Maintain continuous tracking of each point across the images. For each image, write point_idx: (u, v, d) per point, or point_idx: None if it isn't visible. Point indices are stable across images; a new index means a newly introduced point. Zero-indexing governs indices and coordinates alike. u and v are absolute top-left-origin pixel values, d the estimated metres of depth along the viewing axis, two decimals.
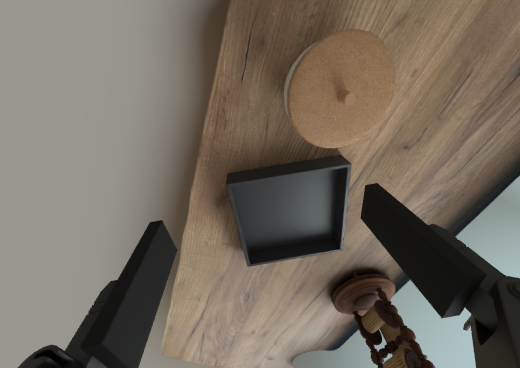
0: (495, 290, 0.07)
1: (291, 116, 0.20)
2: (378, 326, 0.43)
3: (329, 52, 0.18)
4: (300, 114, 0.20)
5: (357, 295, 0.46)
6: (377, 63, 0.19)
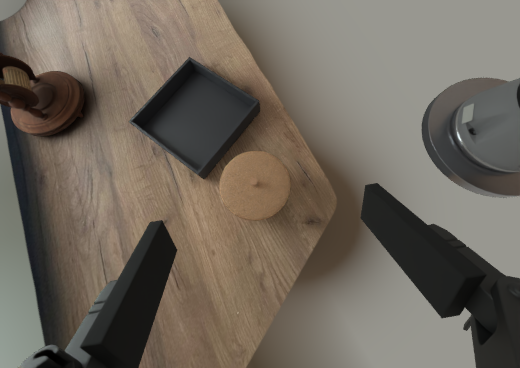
0: (495, 290, 0.07)
1: None
2: (8, 78, 0.36)
3: (281, 191, 0.30)
4: (266, 158, 0.31)
5: (59, 97, 0.41)
6: (255, 210, 0.29)
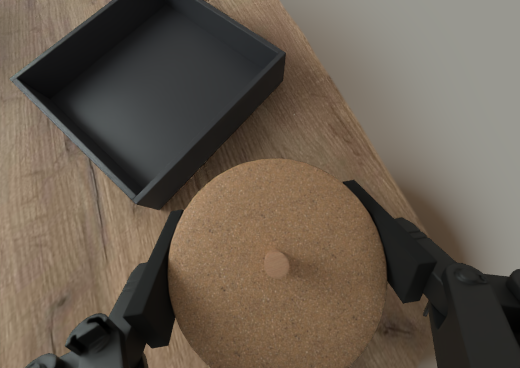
0: (445, 277, 0.08)
1: (319, 169, 0.11)
2: None
3: (361, 293, 0.09)
4: (311, 183, 0.11)
5: None
6: (273, 357, 0.09)
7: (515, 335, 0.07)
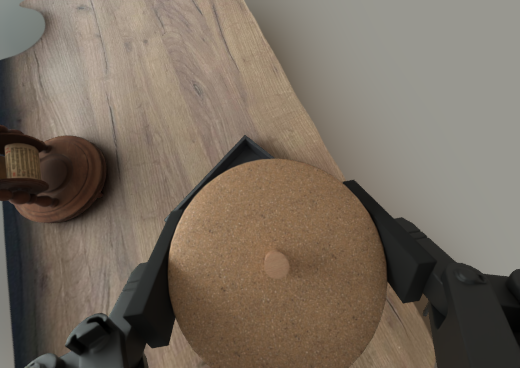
0: (444, 277, 0.08)
1: (319, 170, 0.11)
2: (11, 161, 0.27)
3: (361, 294, 0.09)
4: (312, 183, 0.11)
5: (75, 176, 0.32)
6: (273, 357, 0.09)
7: (515, 335, 0.07)
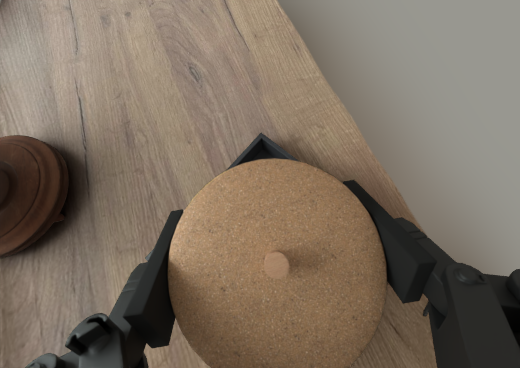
0: (444, 277, 0.08)
1: (319, 170, 0.11)
2: None
3: (361, 294, 0.09)
4: (311, 183, 0.11)
5: (20, 192, 0.22)
6: (273, 357, 0.09)
7: (515, 335, 0.07)
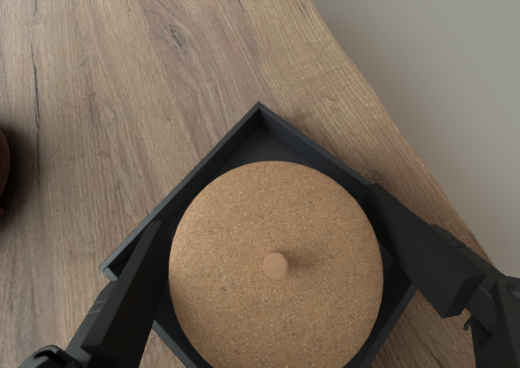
0: (495, 290, 0.07)
1: (317, 172, 0.11)
2: None
3: (358, 293, 0.09)
4: (309, 185, 0.11)
5: None
6: (272, 355, 0.09)
7: None
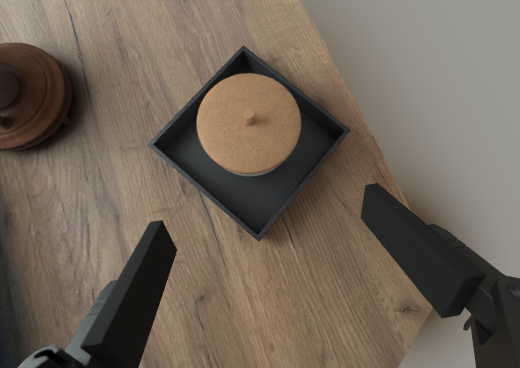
0: (495, 290, 0.07)
1: (273, 79, 0.21)
2: None
3: (287, 134, 0.20)
4: (268, 85, 0.21)
5: (30, 91, 0.25)
6: (247, 158, 0.20)
7: None
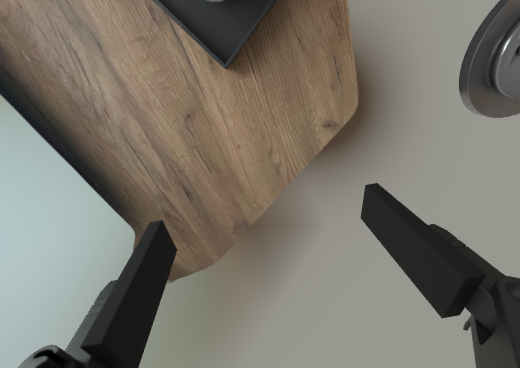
0: (495, 290, 0.07)
1: None
2: None
3: None
4: None
5: None
6: None
7: None
